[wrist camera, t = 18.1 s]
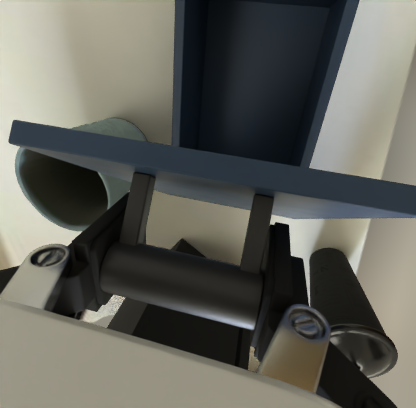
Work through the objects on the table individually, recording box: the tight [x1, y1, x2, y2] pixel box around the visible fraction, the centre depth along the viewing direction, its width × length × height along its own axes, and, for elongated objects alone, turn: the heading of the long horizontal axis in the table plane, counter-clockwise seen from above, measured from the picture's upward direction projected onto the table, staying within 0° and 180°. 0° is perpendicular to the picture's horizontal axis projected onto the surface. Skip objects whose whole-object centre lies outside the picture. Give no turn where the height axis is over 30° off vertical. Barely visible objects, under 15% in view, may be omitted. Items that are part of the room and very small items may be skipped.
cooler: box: [172, 0, 360, 168], centre depth 26 cm, size 18×13×8 cm
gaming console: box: [107, 239, 251, 370], centre depth 33 cm, size 15×15×30 cm
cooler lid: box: [9, 120, 416, 330], centre depth 17 cm, size 18×13×5 cm
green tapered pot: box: [15, 118, 147, 231], centre depth 31 cm, size 10×10×12 cm
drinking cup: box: [309, 248, 398, 378], centre depth 28 cm, size 8×8×20 cm
